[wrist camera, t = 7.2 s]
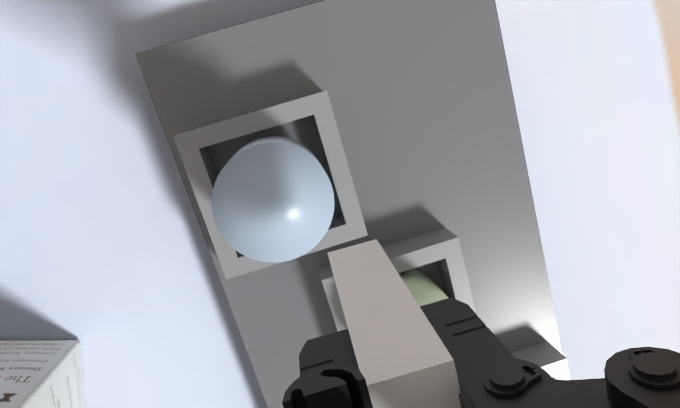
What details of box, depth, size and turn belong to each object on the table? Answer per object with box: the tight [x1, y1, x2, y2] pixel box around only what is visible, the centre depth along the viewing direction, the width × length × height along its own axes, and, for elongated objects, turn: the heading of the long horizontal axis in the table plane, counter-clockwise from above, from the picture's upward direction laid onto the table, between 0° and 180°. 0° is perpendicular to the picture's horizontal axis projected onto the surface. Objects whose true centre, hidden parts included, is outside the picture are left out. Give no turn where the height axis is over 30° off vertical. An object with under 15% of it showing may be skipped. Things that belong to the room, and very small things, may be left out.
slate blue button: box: [211, 136, 335, 262], centre depth 19 cm, size 4×4×4 cm
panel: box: [136, 0, 571, 408], centre depth 24 cm, size 16×30×4 cm, turn 16°
